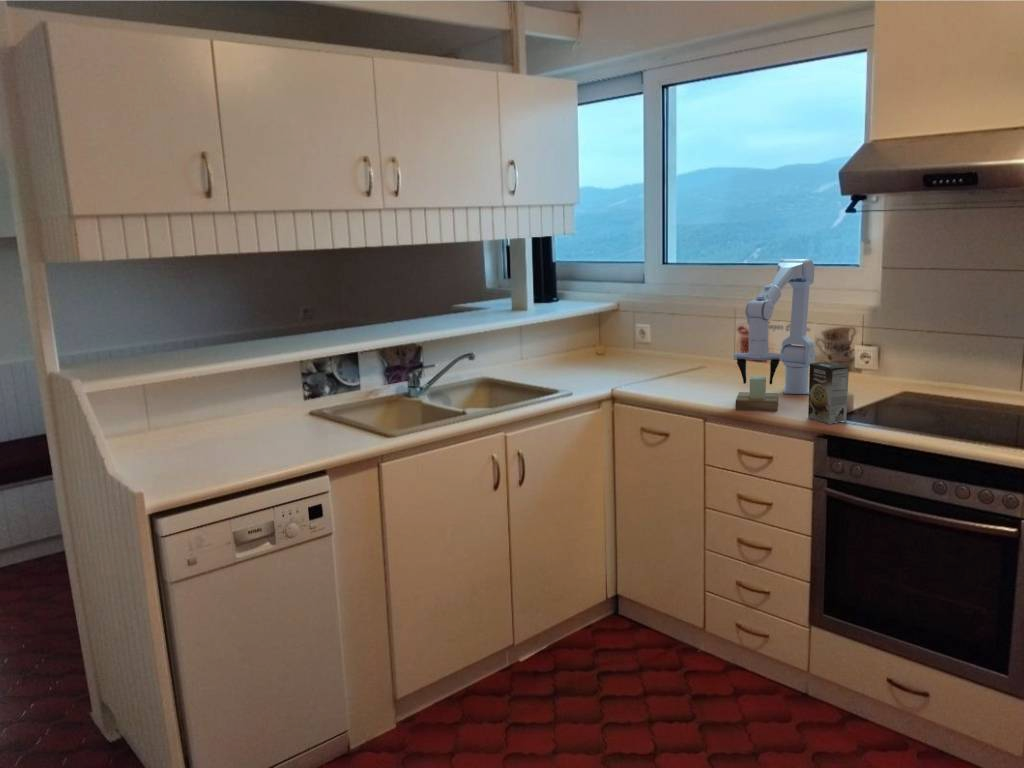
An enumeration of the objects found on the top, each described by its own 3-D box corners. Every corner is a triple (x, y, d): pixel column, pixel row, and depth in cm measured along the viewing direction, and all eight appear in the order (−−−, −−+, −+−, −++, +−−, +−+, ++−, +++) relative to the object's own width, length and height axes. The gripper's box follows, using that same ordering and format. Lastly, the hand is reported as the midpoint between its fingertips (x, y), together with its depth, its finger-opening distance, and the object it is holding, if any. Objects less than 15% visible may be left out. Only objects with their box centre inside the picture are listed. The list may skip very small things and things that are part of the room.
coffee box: (806, 418, 237) (808, 363, 233) (824, 415, 239) (826, 361, 236) (829, 424, 228) (831, 368, 225) (847, 422, 230) (849, 365, 227)
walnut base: (738, 401, 261) (739, 392, 260) (778, 402, 257) (778, 393, 256) (735, 409, 250) (735, 400, 249) (776, 411, 246) (776, 401, 245)
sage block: (750, 395, 255) (750, 376, 254) (765, 395, 254) (765, 376, 253) (749, 398, 251) (749, 379, 250) (764, 398, 250) (765, 379, 248)
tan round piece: (835, 408, 247) (835, 392, 246) (852, 408, 245) (853, 392, 244) (835, 412, 242) (836, 395, 241) (853, 412, 241) (854, 396, 240)
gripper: (732, 341, 248) (732, 385, 251) (783, 341, 243) (782, 386, 246) (734, 338, 254) (734, 380, 257) (783, 338, 249) (782, 381, 252)
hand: (757, 383), depth 252 cm, fingers open, 7 cm apart
